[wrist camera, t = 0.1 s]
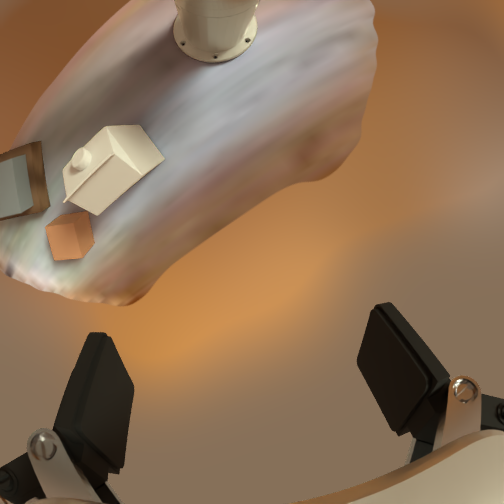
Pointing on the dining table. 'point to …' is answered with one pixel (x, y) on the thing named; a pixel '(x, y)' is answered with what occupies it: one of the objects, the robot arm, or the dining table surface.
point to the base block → (32, 176)
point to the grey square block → (14, 187)
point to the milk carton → (109, 166)
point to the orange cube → (70, 236)
